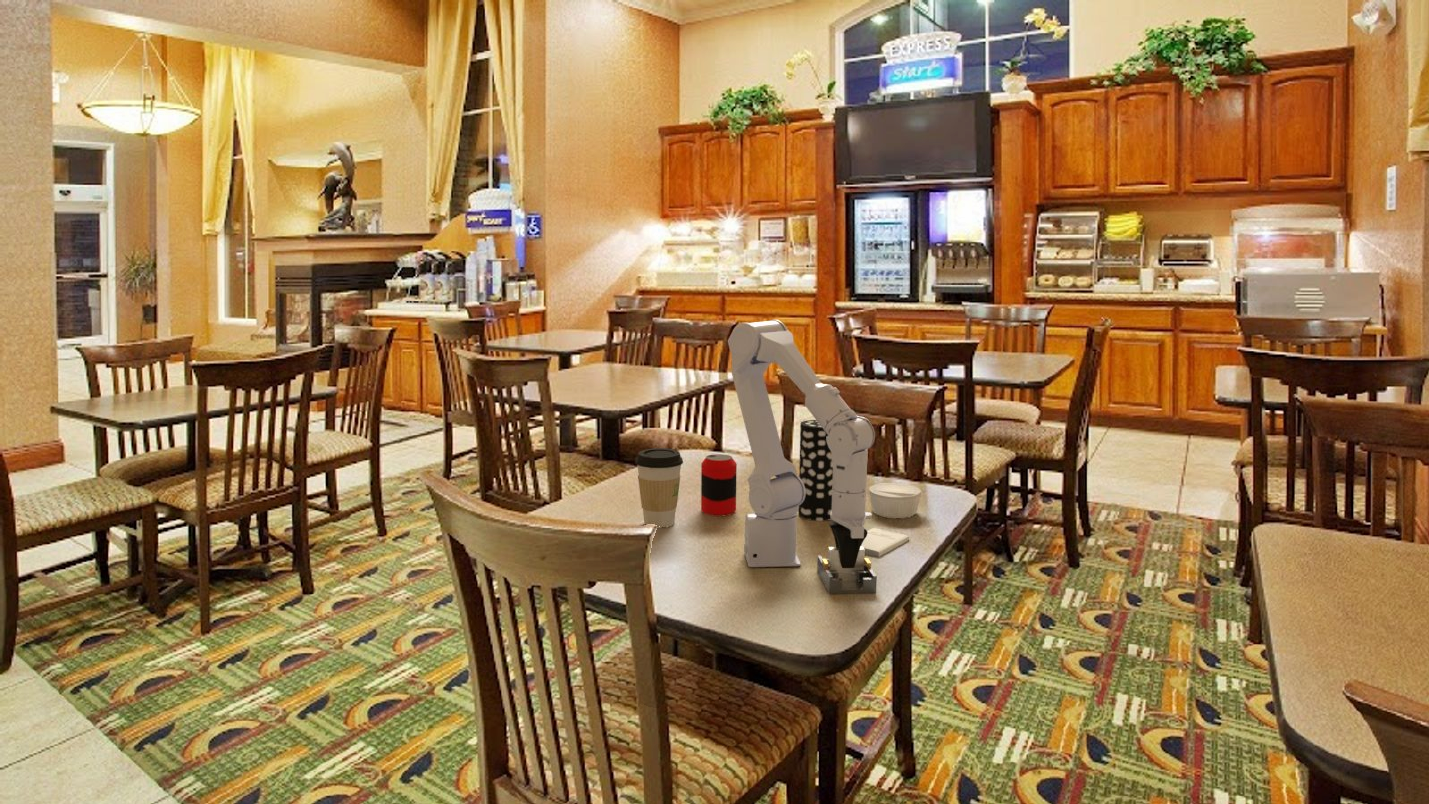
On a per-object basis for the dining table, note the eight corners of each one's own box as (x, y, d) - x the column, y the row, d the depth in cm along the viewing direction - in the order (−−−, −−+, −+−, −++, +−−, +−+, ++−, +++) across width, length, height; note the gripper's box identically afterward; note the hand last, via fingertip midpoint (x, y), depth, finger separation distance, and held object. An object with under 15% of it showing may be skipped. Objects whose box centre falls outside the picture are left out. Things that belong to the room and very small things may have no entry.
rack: (829, 594, 152) (829, 572, 152) (817, 571, 163) (817, 551, 162) (876, 592, 153) (877, 571, 152) (861, 570, 163) (862, 550, 163)
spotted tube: (839, 521, 192) (842, 427, 188) (799, 520, 192) (802, 427, 188) (834, 509, 200) (837, 420, 196) (796, 509, 200) (798, 419, 196)
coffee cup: (692, 521, 191) (692, 451, 188) (664, 534, 182) (664, 461, 180) (654, 513, 196) (654, 445, 193) (625, 525, 188) (625, 454, 185)
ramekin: (879, 522, 192) (880, 497, 191) (860, 506, 202) (861, 483, 201) (929, 519, 194) (930, 495, 193) (907, 504, 205) (908, 481, 204)
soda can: (714, 504, 203) (714, 451, 201) (742, 510, 199) (743, 456, 197) (694, 512, 197) (694, 458, 195) (723, 518, 193) (723, 463, 191)
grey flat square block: (829, 580, 157) (830, 550, 156) (827, 577, 158) (828, 547, 157) (863, 580, 157) (864, 549, 156) (861, 576, 159) (862, 546, 158)
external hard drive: (840, 550, 176) (872, 534, 185) (878, 559, 171) (909, 542, 180) (840, 542, 175) (872, 526, 185) (878, 551, 170) (909, 534, 180)
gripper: (883, 500, 148) (880, 580, 150) (862, 477, 162) (859, 550, 165) (840, 501, 148) (838, 581, 150) (822, 478, 162) (820, 551, 164)
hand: (846, 565), depth 157 cm, fingers closed on grey flat square block, 2 cm apart
